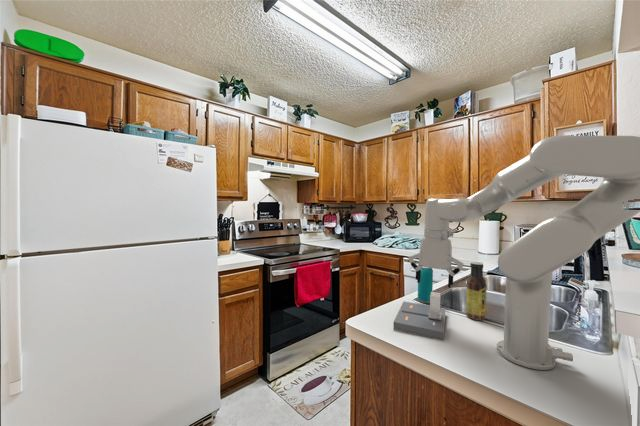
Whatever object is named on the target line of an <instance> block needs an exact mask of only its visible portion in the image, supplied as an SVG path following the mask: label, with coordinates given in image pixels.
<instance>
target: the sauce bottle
mask: <svg viewBox="0 0 640 426" xmlns="http://www.w3.org/2000/svg"><path fill="white" fill-rule="evenodd" d="M483 273H484V263H482V262H475V261H471V262H470V275H469V277H468V278H467V280H466V292H465V295H466V298H465V299H466V301H465V311H466V317H468V318H470V320H471V319H472V320H476V321H484V320H485V319H486V315H487V313H486V312H487V284H486V280H485V278H484V274H483Z"/></svg>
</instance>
